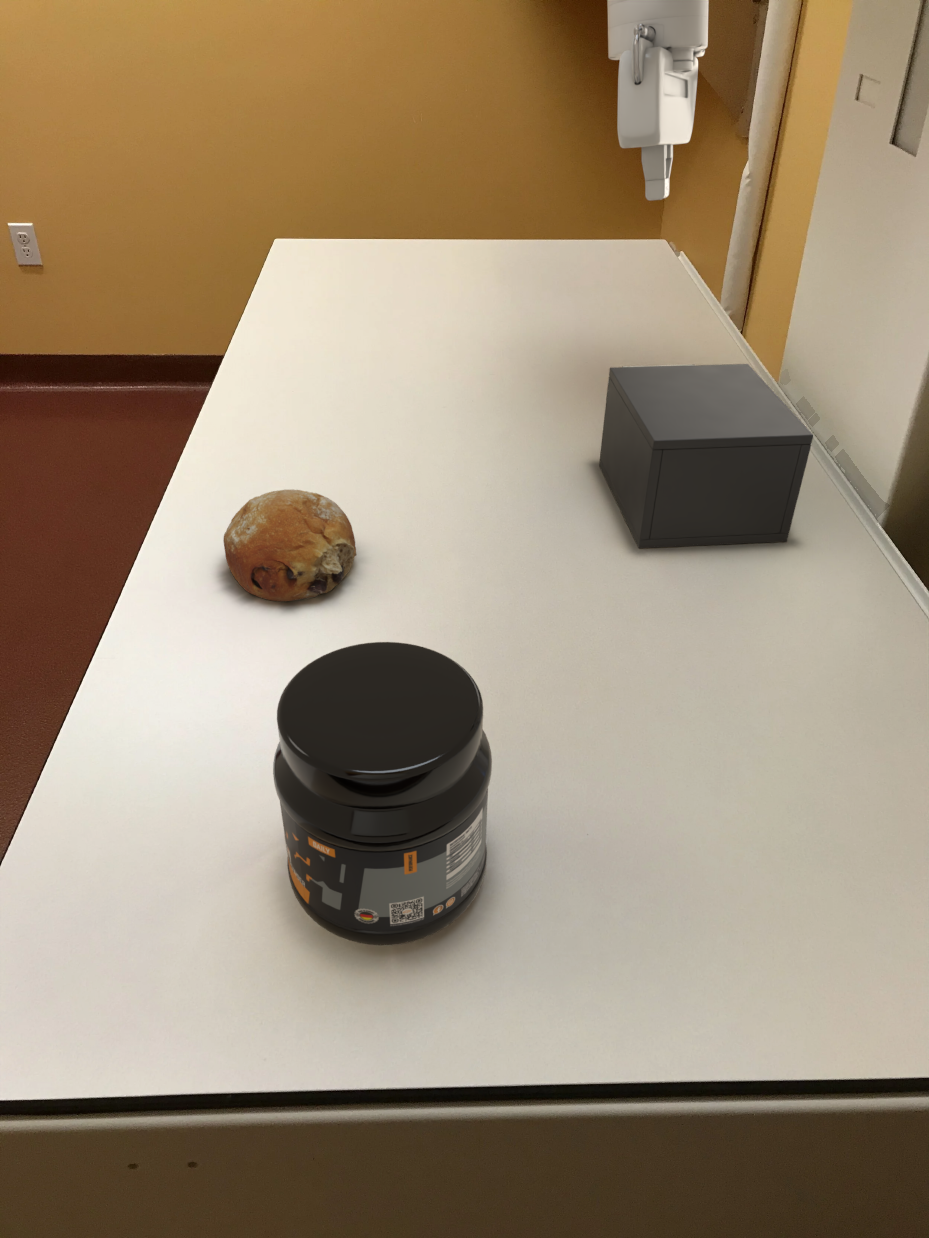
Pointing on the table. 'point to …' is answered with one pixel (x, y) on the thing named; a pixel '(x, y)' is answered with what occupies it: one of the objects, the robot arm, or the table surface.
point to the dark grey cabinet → (701, 455)
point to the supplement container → (383, 791)
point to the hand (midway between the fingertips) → (657, 199)
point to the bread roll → (289, 545)
